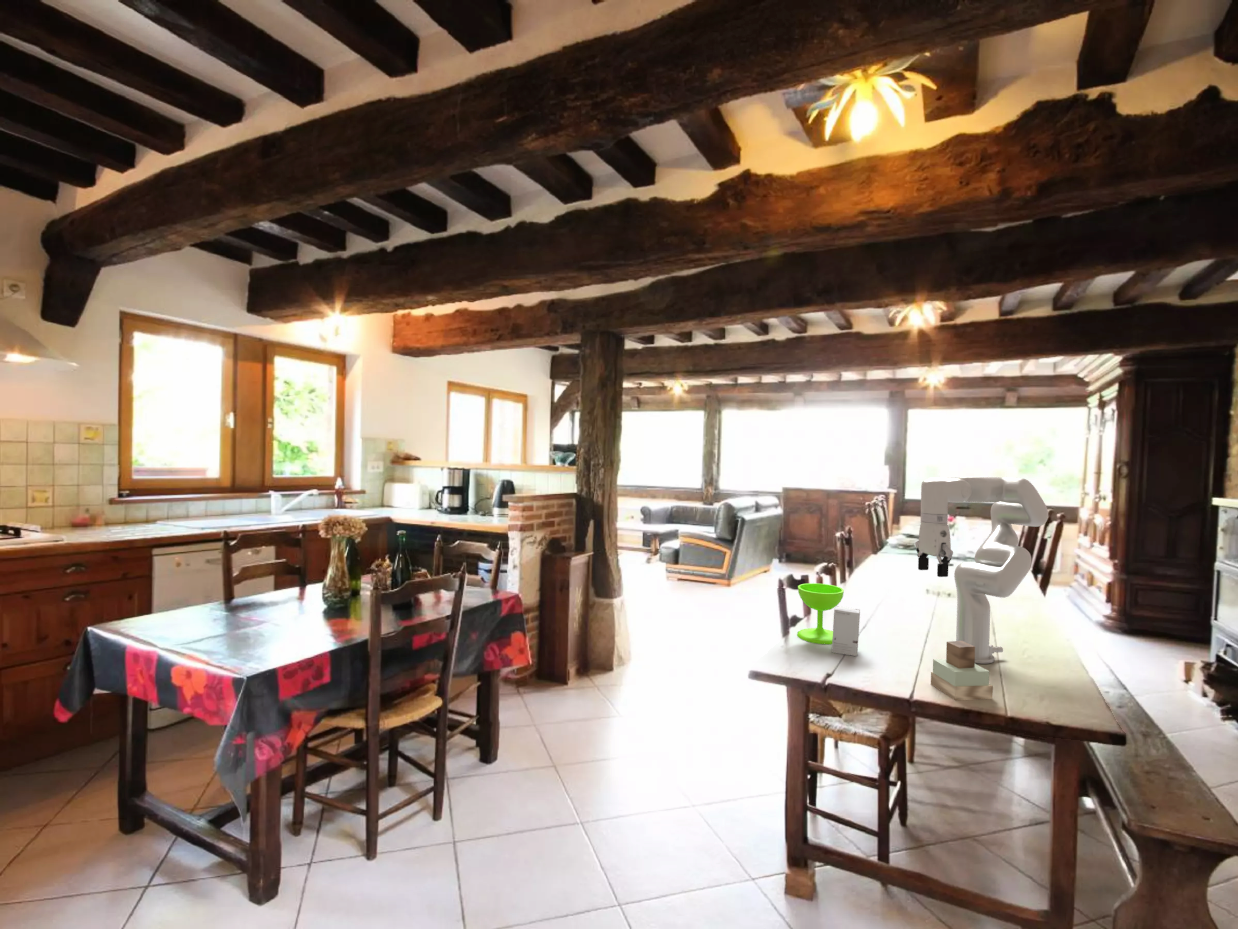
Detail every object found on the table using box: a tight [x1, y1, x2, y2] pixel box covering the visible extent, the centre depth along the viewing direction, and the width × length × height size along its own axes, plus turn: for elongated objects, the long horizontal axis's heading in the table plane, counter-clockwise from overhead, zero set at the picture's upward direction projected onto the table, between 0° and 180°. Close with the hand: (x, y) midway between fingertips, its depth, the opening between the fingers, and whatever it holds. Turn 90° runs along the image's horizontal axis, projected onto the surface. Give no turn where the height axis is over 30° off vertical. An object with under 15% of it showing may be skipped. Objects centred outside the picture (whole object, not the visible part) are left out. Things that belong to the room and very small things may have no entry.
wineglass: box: [796, 582, 845, 645], centre depth 218 cm, size 16×16×18 cm
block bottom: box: [930, 671, 994, 701], centre depth 171 cm, size 11×11×4 cm
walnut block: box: [945, 640, 976, 669], centre depth 171 cm, size 5×5×6 cm
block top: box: [932, 658, 990, 686], centre depth 171 cm, size 10×10×4 cm
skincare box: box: [831, 605, 861, 657], centre depth 203 cm, size 8×6×15 cm
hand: (932, 573), depth 188 cm, fingers open, 9 cm apart
